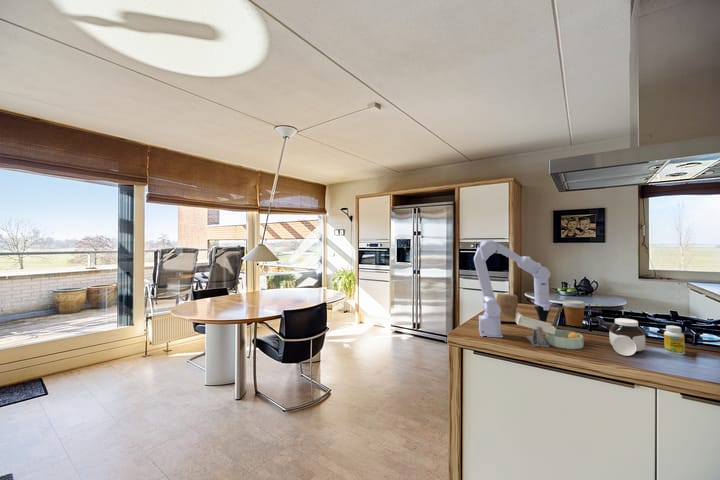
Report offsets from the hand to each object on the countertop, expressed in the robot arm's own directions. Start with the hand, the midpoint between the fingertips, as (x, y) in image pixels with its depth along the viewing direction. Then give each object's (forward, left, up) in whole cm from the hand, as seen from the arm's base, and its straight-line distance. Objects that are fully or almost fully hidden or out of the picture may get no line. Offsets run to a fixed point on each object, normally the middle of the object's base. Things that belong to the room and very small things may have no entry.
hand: (542, 322), depth 138 cm
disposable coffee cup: (+19, +20, -6) cm, 28 cm away
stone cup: (-12, +24, -6) cm, 28 cm away
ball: (+9, -9, -3) cm, 13 cm away
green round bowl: (+6, -9, -6) cm, 12 cm away
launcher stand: (-4, -9, -6) cm, 12 cm away
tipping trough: (-6, -5, 0) cm, 8 cm away
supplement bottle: (+41, -12, -6) cm, 43 cm away
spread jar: (+25, -15, -6) cm, 29 cm away
